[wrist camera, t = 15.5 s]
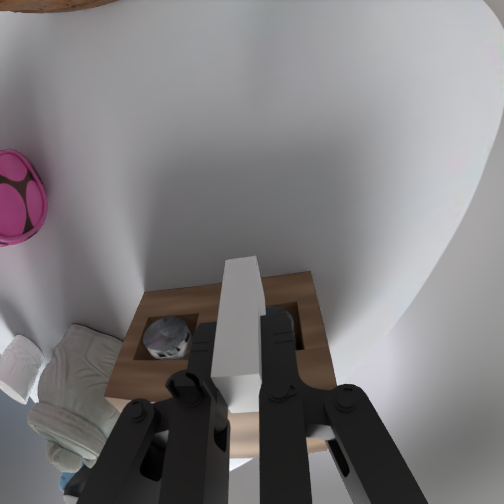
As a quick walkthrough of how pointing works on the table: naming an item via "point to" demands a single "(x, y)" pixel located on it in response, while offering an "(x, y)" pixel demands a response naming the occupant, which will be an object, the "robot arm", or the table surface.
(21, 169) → the pencil case
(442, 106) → the table surface
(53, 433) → the teapot
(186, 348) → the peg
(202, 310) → the walnut block
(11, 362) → the white cup
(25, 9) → the block
